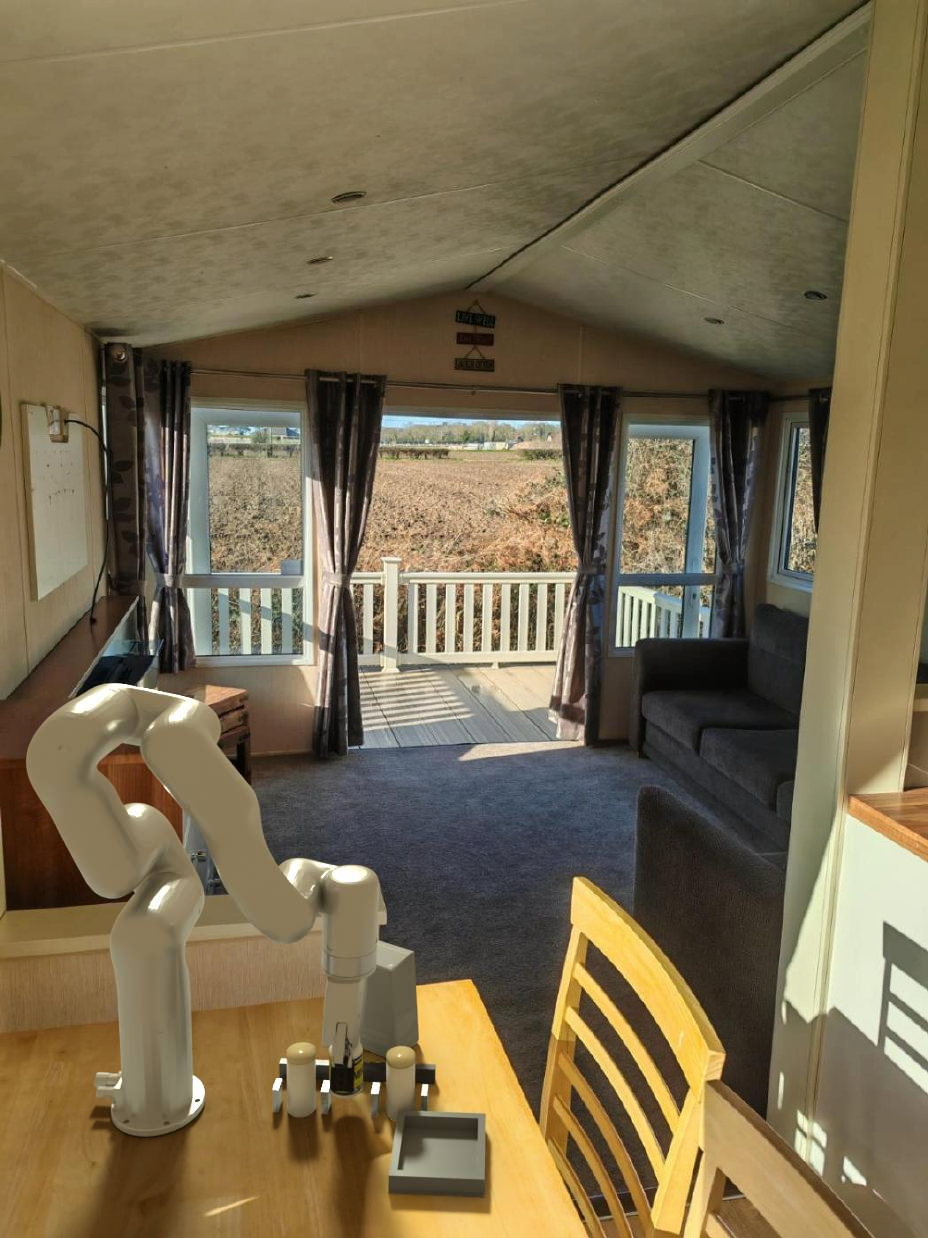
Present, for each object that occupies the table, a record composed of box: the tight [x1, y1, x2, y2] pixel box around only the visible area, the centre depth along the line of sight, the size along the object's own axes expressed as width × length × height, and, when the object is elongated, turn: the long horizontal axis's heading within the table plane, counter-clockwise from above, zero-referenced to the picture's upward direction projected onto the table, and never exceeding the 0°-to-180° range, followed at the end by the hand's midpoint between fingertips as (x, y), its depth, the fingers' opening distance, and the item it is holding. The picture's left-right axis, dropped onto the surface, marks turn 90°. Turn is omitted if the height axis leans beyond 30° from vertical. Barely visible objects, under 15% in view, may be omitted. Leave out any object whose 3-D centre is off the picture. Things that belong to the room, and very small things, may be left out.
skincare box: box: [360, 939, 420, 1059], centre depth 146 cm, size 8×7×16 cm
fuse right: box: [385, 1046, 416, 1122], centre depth 132 cm, size 4×4×9 cm
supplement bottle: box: [328, 1037, 364, 1100], centre depth 132 cm, size 5×5×8 cm
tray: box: [387, 1110, 487, 1198], centre depth 124 cm, size 12×12×2 cm
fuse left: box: [286, 1041, 317, 1118], centre depth 133 cm, size 4×4×9 cm
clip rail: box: [272, 1057, 437, 1117], centre depth 136 cm, size 23×8×4 cm, turn 88°
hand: (345, 1076), depth 132 cm, fingers closed on supplement bottle, 4 cm apart
